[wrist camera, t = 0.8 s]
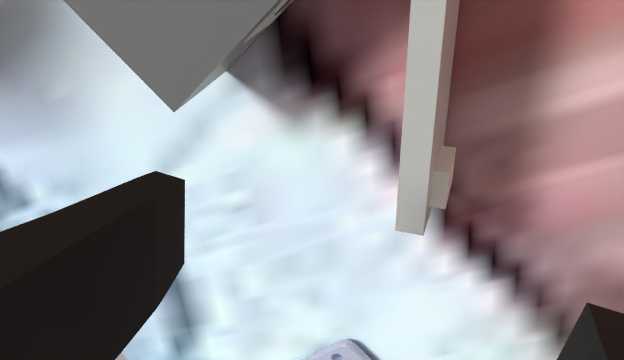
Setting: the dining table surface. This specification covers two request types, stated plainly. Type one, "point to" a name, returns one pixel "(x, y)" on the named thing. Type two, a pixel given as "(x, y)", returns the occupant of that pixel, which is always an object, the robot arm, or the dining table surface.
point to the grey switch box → (178, 38)
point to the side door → (426, 114)
